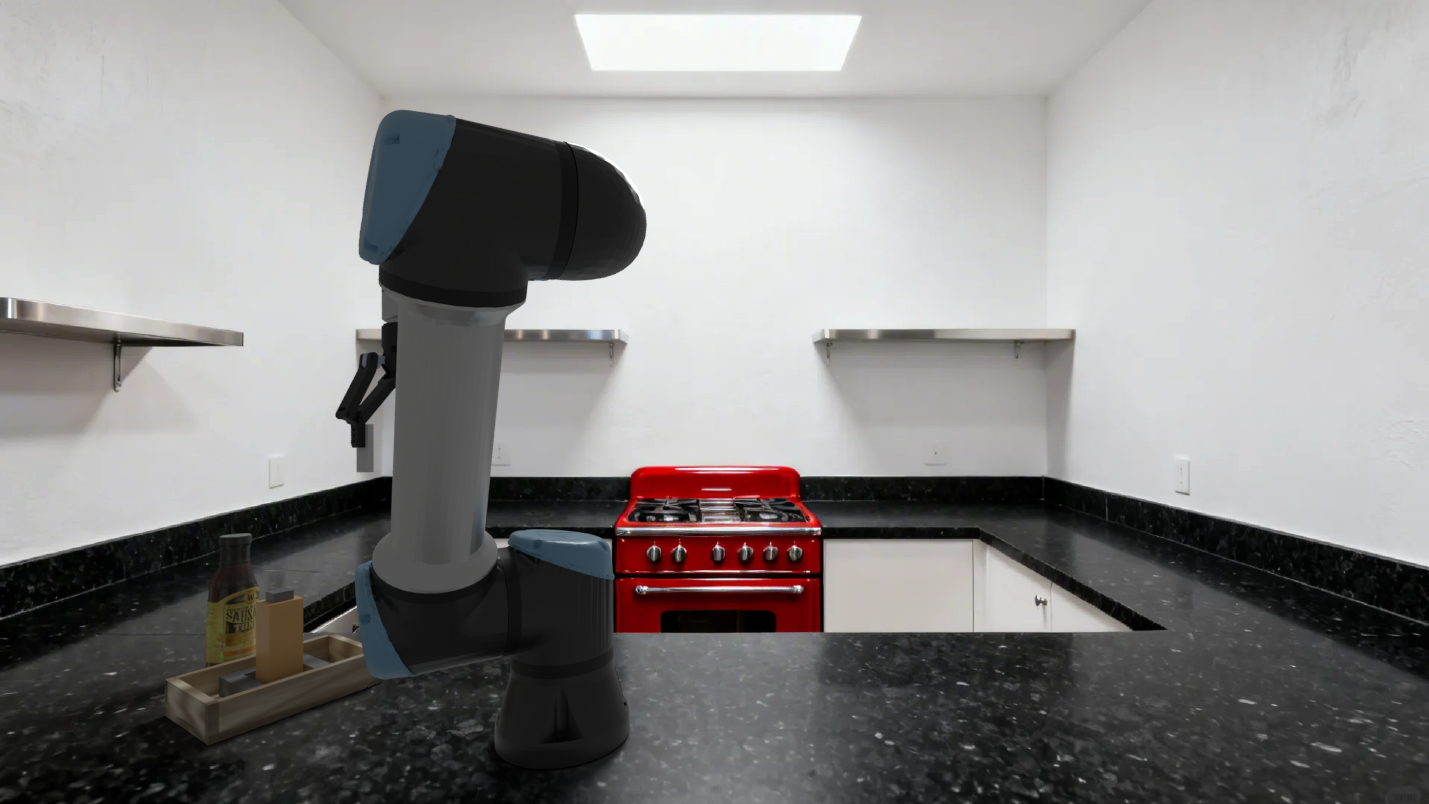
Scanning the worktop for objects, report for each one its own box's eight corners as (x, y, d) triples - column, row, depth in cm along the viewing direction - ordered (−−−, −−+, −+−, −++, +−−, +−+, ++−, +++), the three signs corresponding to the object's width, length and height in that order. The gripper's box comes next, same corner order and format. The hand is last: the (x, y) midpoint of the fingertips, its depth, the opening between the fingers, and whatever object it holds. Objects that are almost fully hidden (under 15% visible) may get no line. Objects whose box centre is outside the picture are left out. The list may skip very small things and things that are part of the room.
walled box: (382, 682, 88) (382, 649, 88) (208, 745, 72) (208, 705, 72) (332, 662, 96) (332, 632, 96) (164, 715, 79) (164, 679, 79)
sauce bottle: (228, 678, 91) (229, 539, 91) (193, 675, 92) (194, 538, 92) (269, 661, 97) (269, 531, 98) (235, 658, 98) (236, 531, 99)
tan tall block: (303, 688, 84) (303, 589, 85) (269, 699, 81) (269, 596, 81) (289, 681, 87) (289, 585, 87) (255, 692, 83) (255, 592, 84)
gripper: (465, 336, 105) (466, 463, 104) (306, 314, 83) (305, 475, 83) (495, 331, 101) (497, 463, 100) (337, 307, 80) (338, 475, 79)
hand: (411, 469), depth 91 cm, fingers open, 13 cm apart
